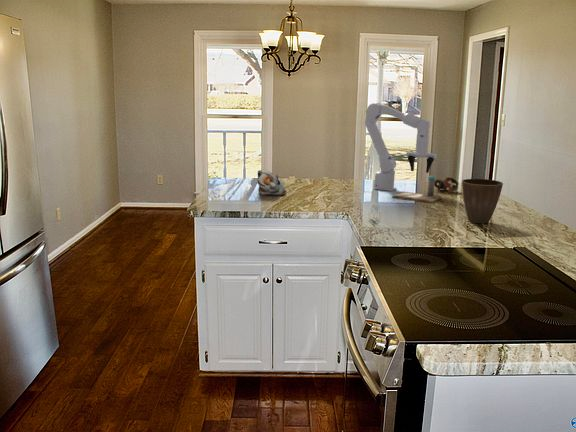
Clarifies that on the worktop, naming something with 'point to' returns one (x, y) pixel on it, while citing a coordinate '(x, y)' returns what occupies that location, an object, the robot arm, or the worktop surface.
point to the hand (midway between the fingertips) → (419, 171)
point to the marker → (431, 186)
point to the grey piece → (270, 184)
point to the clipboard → (416, 197)
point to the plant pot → (480, 198)
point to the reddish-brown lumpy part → (446, 184)
